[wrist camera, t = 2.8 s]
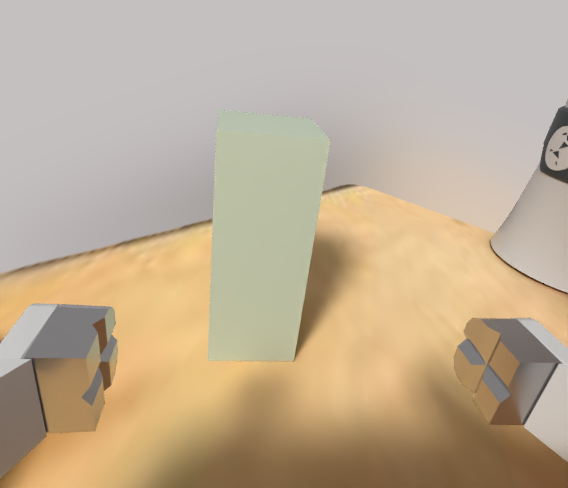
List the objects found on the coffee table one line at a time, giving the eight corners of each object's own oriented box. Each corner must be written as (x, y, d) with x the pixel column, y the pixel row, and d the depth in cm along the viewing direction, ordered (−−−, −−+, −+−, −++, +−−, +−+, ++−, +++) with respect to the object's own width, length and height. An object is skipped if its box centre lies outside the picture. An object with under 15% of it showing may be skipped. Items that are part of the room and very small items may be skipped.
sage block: (284, 309, 28) (311, 118, 22) (293, 361, 24) (330, 140, 18) (211, 307, 27) (219, 109, 21) (207, 360, 23) (216, 129, 17)
